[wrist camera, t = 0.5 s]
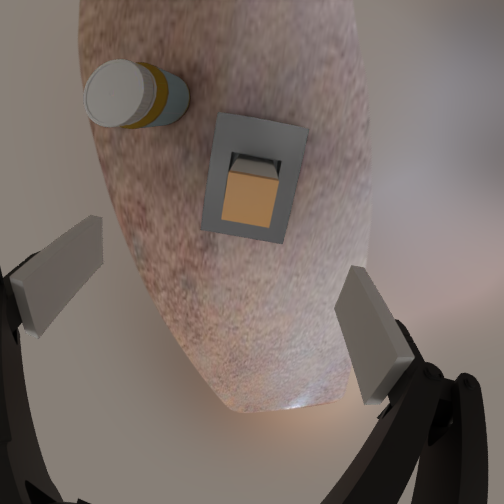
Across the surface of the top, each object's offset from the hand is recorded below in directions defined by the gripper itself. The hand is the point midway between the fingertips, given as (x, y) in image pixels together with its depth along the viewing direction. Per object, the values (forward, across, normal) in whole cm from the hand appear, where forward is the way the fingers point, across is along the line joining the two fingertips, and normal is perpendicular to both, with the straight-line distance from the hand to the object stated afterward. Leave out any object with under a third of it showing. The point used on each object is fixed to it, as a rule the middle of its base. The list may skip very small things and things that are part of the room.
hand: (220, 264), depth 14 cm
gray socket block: (+25, +1, 0) cm, 25 cm away
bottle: (+25, -12, +8) cm, 29 cm away
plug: (+24, +1, 0) cm, 24 cm away
